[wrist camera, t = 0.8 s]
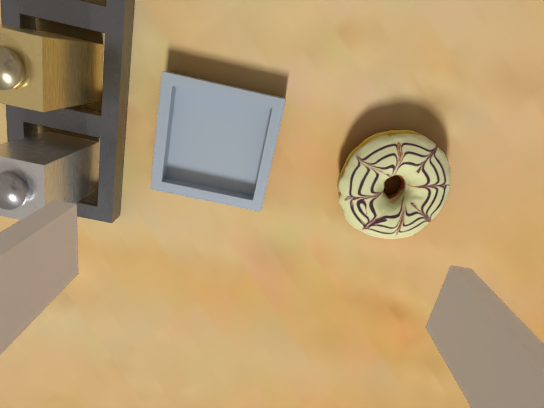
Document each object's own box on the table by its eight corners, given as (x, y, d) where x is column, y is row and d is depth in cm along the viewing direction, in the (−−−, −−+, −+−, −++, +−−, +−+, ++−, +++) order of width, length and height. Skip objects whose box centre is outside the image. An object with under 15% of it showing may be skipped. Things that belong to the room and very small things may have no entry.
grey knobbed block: (47, 130, 35) (-34, 153, 26) (99, 141, 35) (37, 168, 26) (48, 178, 37) (-28, 215, 28) (97, 188, 37) (38, 228, 28)
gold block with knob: (47, 31, 32) (-46, 17, 23) (103, 44, 32) (34, 35, 23) (47, 89, 34) (-39, 97, 24) (101, 100, 34) (36, 113, 25)
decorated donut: (337, 232, 39) (343, 249, 35) (331, 134, 35) (337, 141, 31) (436, 222, 38) (451, 238, 35) (440, 121, 34) (458, 127, 31)
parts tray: (168, 71, 33) (161, 71, 31) (285, 97, 34) (285, 99, 32) (156, 182, 37) (150, 189, 35) (261, 204, 37) (260, 211, 36)
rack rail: (12, -138, 28) (-8, -153, 26) (141, -104, 28) (132, -117, 26) (24, 196, 38) (10, 203, 36) (119, 215, 38) (111, 223, 36)
